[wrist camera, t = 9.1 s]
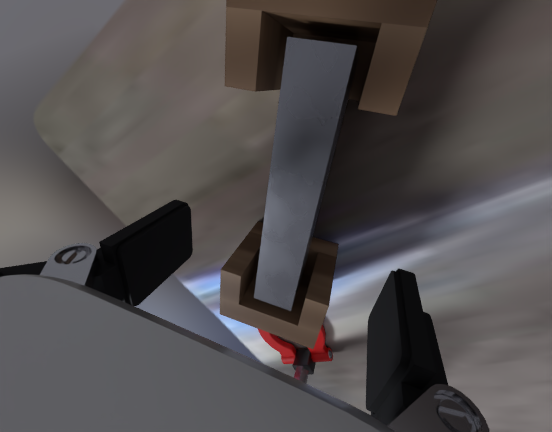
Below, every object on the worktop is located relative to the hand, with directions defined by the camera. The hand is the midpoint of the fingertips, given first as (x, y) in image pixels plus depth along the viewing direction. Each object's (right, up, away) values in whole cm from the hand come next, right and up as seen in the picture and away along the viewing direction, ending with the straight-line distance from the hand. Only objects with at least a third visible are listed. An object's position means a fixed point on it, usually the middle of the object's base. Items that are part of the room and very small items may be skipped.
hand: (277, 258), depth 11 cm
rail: (+2, +4, +8) cm, 9 cm away
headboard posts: (+3, +5, +9) cm, 11 cm away
